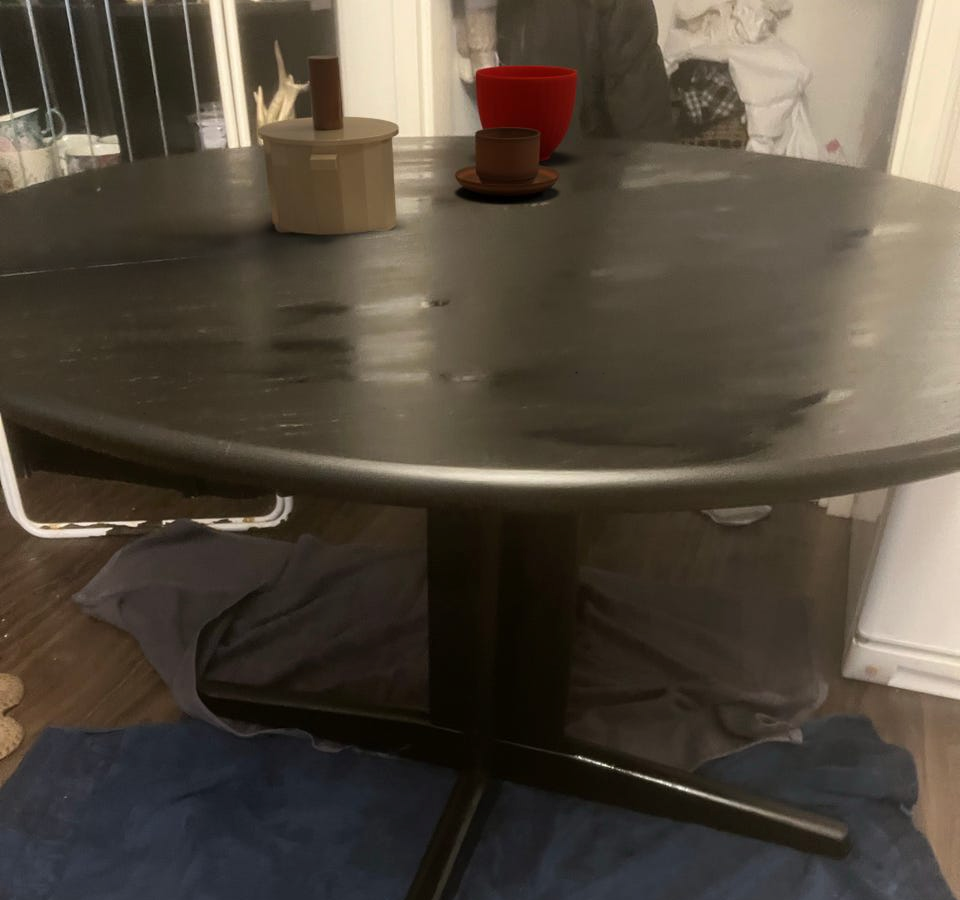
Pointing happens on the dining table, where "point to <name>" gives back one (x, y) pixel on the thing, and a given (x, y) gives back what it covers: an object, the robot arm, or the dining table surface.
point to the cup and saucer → (507, 163)
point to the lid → (327, 115)
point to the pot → (331, 187)
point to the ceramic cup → (528, 100)
